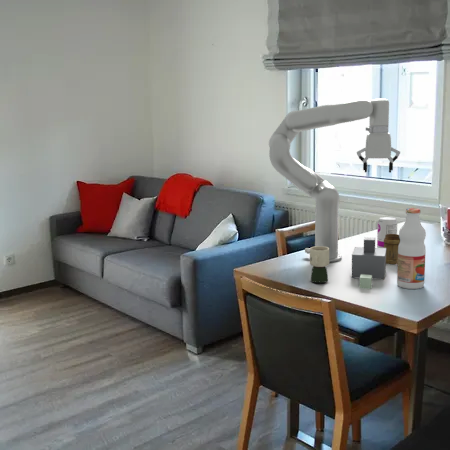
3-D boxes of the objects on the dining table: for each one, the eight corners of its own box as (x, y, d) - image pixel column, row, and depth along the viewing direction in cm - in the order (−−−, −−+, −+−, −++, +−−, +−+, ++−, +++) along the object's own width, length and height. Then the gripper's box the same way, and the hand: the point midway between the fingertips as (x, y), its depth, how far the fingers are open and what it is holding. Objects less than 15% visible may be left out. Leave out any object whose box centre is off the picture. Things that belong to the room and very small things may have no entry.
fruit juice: (398, 280, 224) (400, 206, 218) (425, 282, 220) (428, 207, 215) (395, 288, 215) (397, 211, 210) (423, 290, 212) (426, 212, 206)
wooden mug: (411, 267, 241) (413, 222, 237) (378, 263, 247) (379, 220, 244) (416, 261, 248) (418, 218, 245) (383, 258, 255) (385, 216, 251)
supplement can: (375, 253, 262) (376, 219, 259) (378, 249, 269) (379, 216, 266) (395, 255, 259) (396, 220, 256) (397, 250, 266) (398, 217, 263)
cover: (351, 277, 229) (352, 241, 226) (354, 268, 241) (355, 234, 238) (384, 279, 226) (385, 243, 223) (385, 270, 237) (386, 235, 234)
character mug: (314, 277, 231) (314, 244, 229) (332, 278, 228) (332, 245, 226) (305, 285, 222) (305, 251, 219) (324, 287, 219) (325, 252, 216)
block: (359, 288, 217) (359, 277, 216) (360, 284, 221) (360, 274, 220) (370, 289, 216) (371, 278, 215) (371, 285, 219) (372, 275, 219)
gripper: (356, 130, 244) (355, 173, 248) (400, 130, 239) (399, 173, 242) (357, 129, 251) (357, 170, 255) (401, 129, 246) (399, 171, 249)
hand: (377, 172), depth 249 cm, fingers open, 9 cm apart
